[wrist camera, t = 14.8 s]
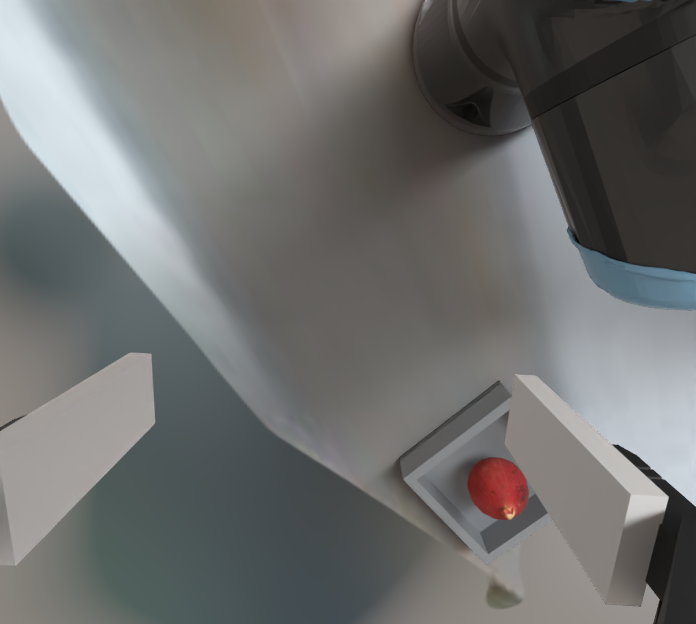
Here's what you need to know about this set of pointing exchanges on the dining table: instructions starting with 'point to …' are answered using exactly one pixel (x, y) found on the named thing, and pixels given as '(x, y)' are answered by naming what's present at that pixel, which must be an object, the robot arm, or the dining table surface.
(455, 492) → the box
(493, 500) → the onion
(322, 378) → the dining table surface
